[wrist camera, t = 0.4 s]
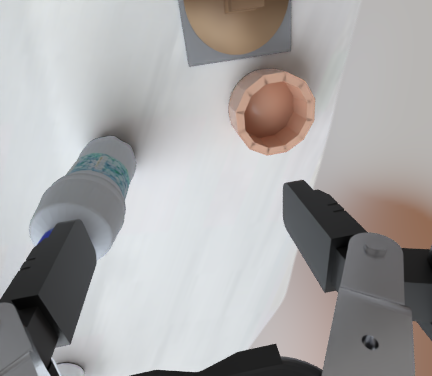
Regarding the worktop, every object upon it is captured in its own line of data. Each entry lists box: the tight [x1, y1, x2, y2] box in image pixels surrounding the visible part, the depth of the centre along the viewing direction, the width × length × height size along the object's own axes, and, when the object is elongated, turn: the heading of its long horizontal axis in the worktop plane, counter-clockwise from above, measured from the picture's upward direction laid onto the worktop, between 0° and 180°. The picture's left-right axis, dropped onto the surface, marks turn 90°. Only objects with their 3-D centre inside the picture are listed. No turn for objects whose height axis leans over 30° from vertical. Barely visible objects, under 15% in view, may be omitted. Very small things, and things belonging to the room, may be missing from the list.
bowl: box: [228, 68, 315, 155], centre depth 33 cm, size 9×9×5 cm
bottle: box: [29, 136, 136, 260], centre depth 27 cm, size 7×7×20 cm
